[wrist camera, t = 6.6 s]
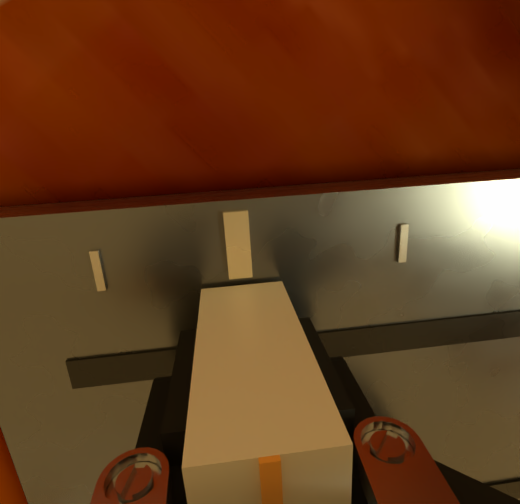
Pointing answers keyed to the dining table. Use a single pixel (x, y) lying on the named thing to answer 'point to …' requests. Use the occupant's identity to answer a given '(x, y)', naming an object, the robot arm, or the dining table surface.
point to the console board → (300, 294)
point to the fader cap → (260, 407)
